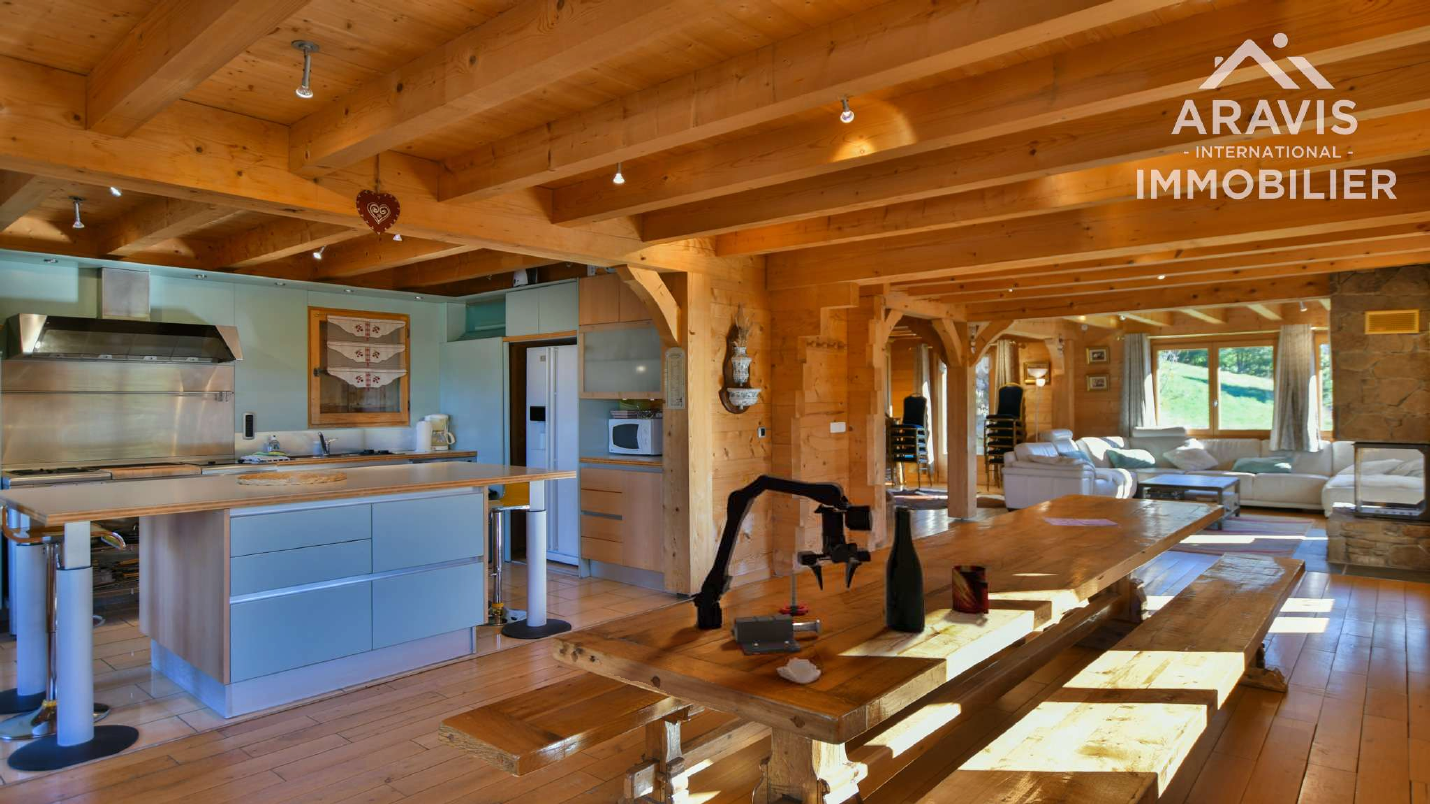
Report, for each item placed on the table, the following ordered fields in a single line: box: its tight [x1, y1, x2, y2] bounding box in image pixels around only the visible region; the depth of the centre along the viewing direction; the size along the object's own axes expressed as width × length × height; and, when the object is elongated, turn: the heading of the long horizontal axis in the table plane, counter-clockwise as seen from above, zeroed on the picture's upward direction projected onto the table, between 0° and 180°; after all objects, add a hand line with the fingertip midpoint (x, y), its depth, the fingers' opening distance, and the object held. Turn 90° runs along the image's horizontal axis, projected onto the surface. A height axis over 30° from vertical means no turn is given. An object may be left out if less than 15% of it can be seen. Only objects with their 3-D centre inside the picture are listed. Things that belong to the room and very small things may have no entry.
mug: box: [951, 564, 990, 615], centre depth 230 cm, size 10×14×12 cm
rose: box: [776, 657, 822, 684], centre depth 180 cm, size 10×4×10 cm
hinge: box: [731, 613, 803, 656], centre depth 208 cm, size 15×23×6 cm, turn 8°
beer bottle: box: [884, 505, 926, 633], centre depth 215 cm, size 10×10×33 cm
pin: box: [793, 619, 822, 634], centre depth 209 cm, size 15×3×3 cm, turn 98°
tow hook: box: [780, 569, 810, 615], centre depth 236 cm, size 8×13×9 cm
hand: (834, 589), depth 211 cm, fingers open, 7 cm apart
